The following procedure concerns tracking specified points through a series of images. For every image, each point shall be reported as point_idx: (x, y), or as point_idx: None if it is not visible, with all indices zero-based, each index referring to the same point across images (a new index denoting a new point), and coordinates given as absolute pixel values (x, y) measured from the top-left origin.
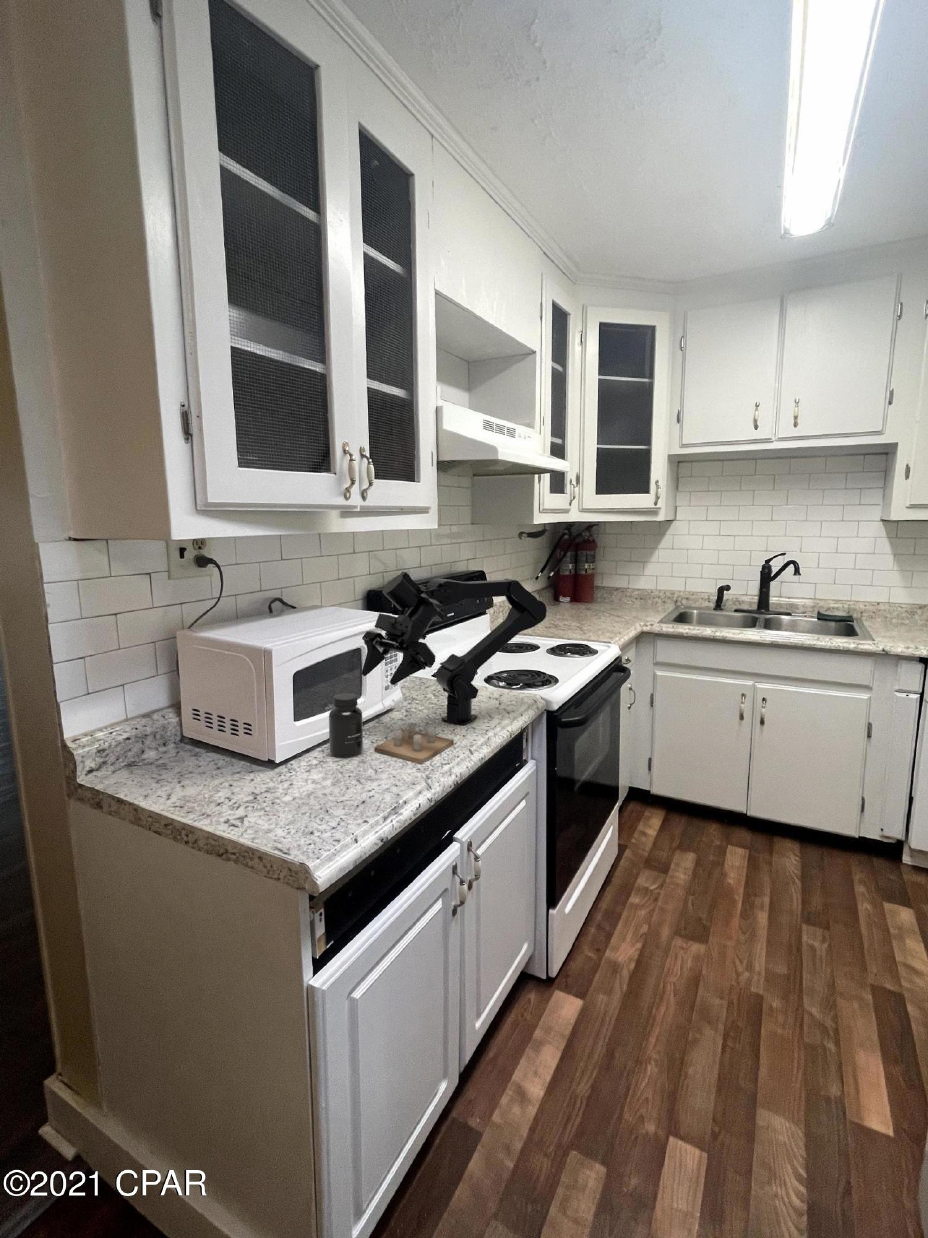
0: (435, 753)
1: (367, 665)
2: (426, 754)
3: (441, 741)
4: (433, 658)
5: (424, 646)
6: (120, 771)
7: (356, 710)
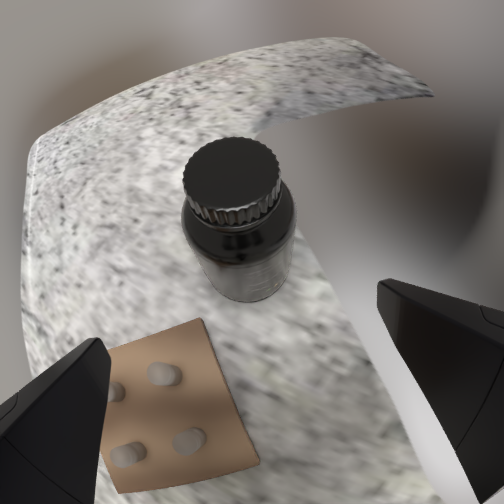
0: None
1: (417, 314)
2: None
3: (125, 469)
4: None
5: None
6: (352, 48)
7: (195, 223)
